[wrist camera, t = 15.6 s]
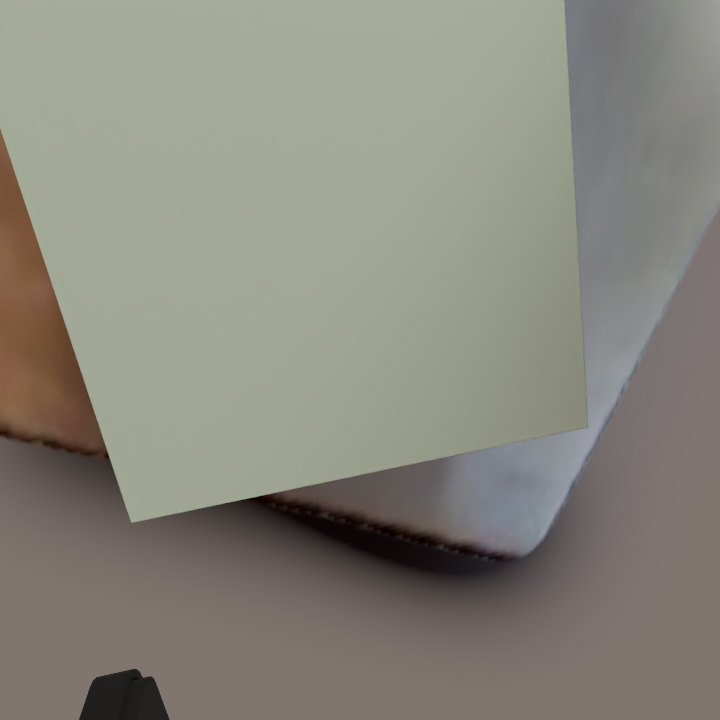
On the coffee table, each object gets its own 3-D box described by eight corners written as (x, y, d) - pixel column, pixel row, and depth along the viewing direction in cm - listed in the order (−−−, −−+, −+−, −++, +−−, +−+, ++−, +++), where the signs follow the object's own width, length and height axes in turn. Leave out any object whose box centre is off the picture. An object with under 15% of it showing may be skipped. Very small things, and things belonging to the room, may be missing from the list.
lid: (545, -93, 20) (558, -104, 19) (576, 416, 26) (588, 427, 25) (-29, -1, 19) (-45, -7, 18) (136, 507, 25) (131, 522, 24)
